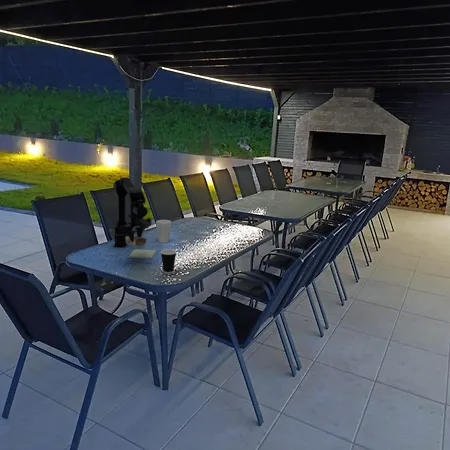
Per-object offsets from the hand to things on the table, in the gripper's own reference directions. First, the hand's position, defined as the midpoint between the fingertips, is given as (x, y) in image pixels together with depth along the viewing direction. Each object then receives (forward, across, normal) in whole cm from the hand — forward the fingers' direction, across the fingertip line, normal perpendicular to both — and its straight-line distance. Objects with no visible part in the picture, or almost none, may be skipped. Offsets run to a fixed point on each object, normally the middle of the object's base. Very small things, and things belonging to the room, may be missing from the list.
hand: (135, 241), depth 216 cm
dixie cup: (+10, -5, -26) cm, 29 cm away
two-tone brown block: (+1, 0, 0) cm, 1 cm away
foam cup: (+11, +37, +11) cm, 41 cm away
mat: (+11, +9, +3) cm, 14 cm away
